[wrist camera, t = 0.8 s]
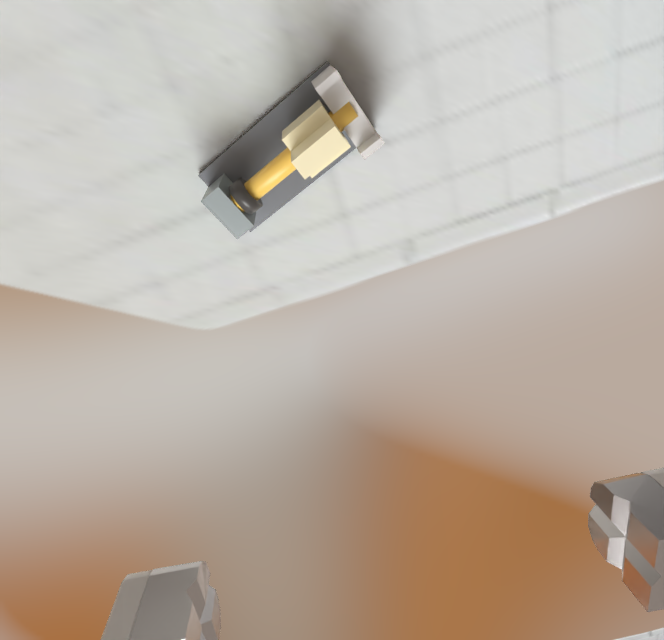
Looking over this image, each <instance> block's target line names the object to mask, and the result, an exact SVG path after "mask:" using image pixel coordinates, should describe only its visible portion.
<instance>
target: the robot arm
mask: <svg viewBox="0 0 664 640" xmlns="http://www.w3.org/2000/svg"><path fill="white" fill-rule="evenodd" d="M590 497H591V499H592V500H593V501H594V502H595V503H596V505H595V506H594V507H593V509H592V510H591V511H590V513H589V520H588V527H589V530H590V533H591V537H592V540H593V542H594V544H595V545H596V547H597V549H598V551H599V552H600V553H601V555H602V556H603V557H604V558H605V560H606V561H607V562H609V563H611V564H613V565H615V566H617V567H618V568H620V569H622V580H623V582H624V584H625V585H626V586H627V587H628V588H629V590H630V591H631V592H632V593H633V595H634V596H635V597H636V598H637V600H638V601H639V602H640V603H641V604H642V606H643V607H644V608H645V610H646V611H647V612H651V611H656V610H662V609H664V468H660V469H655V470H650V471H645V472H641V473H635V474H631V475H626V476H621V477H616V478H612V479H607V480H602V481H597V482H594V484H593V485H592V487H591V493H590ZM209 579H210V572H209V569H208V566H207V564H206V562H204V561H199V562H193V563H188V564H182V565H176V566H170V567H164V568H159V569H154V570H150V571H144V572H138V573H133V574H128V575H127V576H126V578H125V579H124V580H123V582H122V583H121V586H120V589H119V591H118V594H117V597H116V600H115V603H114V605H113V608H112V610H111V613H110V616H109V619H108V621H107V624H106V627H105V630H104V632H103V635H102V638H101V640H219V638H220V629H221V623H220V622H221V619H220V605H219V599H218V596H217V593H216V590H215V589H214V588H212V587H211V586H209Z"/></svg>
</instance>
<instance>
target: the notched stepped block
mask: <svg viewBox="0 0 664 640" xmlns="http://www.w3.org/2000/svg"><path fill="white" fill-rule="evenodd" d="M282 141H283V142H284V143H285V145H286V146H287V147H288V148H289V150H290V151H291V163H292V164H293V165H294V167H295V168H296V169H297V170H298V172H299V173H300V174H301V175H302V177H303V178H304V179H306V178H308V177H309V176H310V177H311V178H313V177H314V176H315V175H317V174H318V173H319V172H320V171H322V170H323V169H324V168H325V167H327V166H328V165H329V164H330V163H332V162H333V161H334V160H335V159H337V158H338V157H339V156H340V155H342V154H343V153H344V152H345V151H347V150H348V149H349V148H350V147H351V146H350V144H349V142H348V141H347V139H346V137H345V136H344V134H343V133H342V132H340V130H339V129H338V127H337V126H336V125H335V123H334V122H333V120H332V119H331V117H330V116H329V115H328V112H327V110H326V109H325V107H324V106H323V104H322V103H321V102H320V100H318V101H317V102H316V103H314V104H313V105H312V106H311V107H310V108H309V109H307V110H306V111H305V112H304V113H303V114H301V115H300V116H299V117H298V118H297V119H296V120H294V121H293V122H292V123H291V124H290V125H289V126H287V127H286V128H285V129H284V130H283V131H282Z"/></svg>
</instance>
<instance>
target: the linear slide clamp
mask: <svg viewBox="0 0 664 640" xmlns="http://www.w3.org/2000/svg"><path fill="white" fill-rule="evenodd" d="M341 78H342V77H341V75H340V74H339V72H338V71H337V70H336V69H335V68H334V67H332V66H331V65H330V64H329V62H328V61H327V62H326V63H325V64H324V65H323V66H321V67H320V68H319V69H318V70H317V71H316V72H315V73H313V74H312V75H311V76H310V77H309V78H308V79H307V80H306V81H304V82H303V83H302V84H301V85H300V86H299V87H298V88H296V89H295V90H294V91H293V92H292V93H291V94H290V95H288V96H287V97H286V98H285V99H284V100H283V101H282V102H280V103H279V104H278V105H277V106H276V107H275V108H274V109H273V110H271V111H270V112H269V113H268V114H267V115H266V116H265V117H263V118H262V119H261V120H260V121H259V122H258V123H257V124H255V125H254V126H253V127H252V128H251V129H250V130H249V131H247V132H246V133H245V134H244V135H243V136H242V137H241V138H240V139H238V140H237V141H236V142H235V143H234V144H233V145H232V146H230V147H229V148H228V149H227V150H226V151H225V152H224V153H222V154H221V155H220V156H219V157H218V158H217V159H216V160H214V161H213V162H212V163H211V164H210V165H209V166H208V167H206V168H205V169H204V170H203V171H202V172H201V173H200V174H199V175H198V176H199V177H200V178H201V179H202V180H203V181H204V182H205V183H206V184H207V186H208V189H207V191H206V193H205V195H204V197H203V199H202V201H201V202H202V203H203V204H204V205H205V206H206V207H207V208H208V209H209V210H210V211H211V212H212V214H213V215H214V216H215V217H216V218H217V219H218V220H219V221H220V222H221V223H222V224H223V225H224V226H225V227H226V228H227V229H228V230H229V231H230V232H231V233H232V234H233V235H234V237H235V238H236V239H238V238H240V237H241V236H242V235H243V234H245V233H246V232H247V231H248V230H249V231H250V232H251V231H252V230H254V229H255V228H256V227H257V226H259V225H260V224H261V223H262V222H264V221H265V220H266V219H267V218H269V217H270V216H271V215H272V214H274V213H275V212H276V211H277V210H279V209H280V208H281V207H282V206H284V205H285V204H286V203H287V202H289V201H290V200H291V199H292V198H294V197H295V196H296V195H297V194H299V193H300V192H301V191H302V190H304V189H305V188H306V187H307V186H309V185H310V184H311V183H312V182H314V181H315V180H316V179H317V178H319V177H320V176H321V175H323V174H324V173H325V172H326V171H328V170H329V169H330V168H331V167H333V166H334V165H335V164H336V163H338V162H339V161H340V160H341V159H343V158H344V157H345V156H346V155H348V154H349V153H350V152H351V151H353V150H354V149H355V148H357V149H358V151H359V152H360V154H361V155H362V157H363V158H364V160H365V159H366V158H368V157H369V156H370V155H371V154H373V153H374V152H375V151H376V150H378V149H379V148H380V147H382V146H383V145H384V144H385V142H384V141H383V139H382V138H381V137H380V135H379V134H378V133H377V132H376V130H375V129H374V127H373V126H372V124H371V123H370V121H369V120H368V118H367V117H366V115H365V114H364V112H363V111H362V109H361V108H360V106H359V105H358V103H357V102H356V100H355V99H354V97H353V96H352V94H351V93H350V91H349V90H348V88H347V86H346V85H345V83H344V82H343V80H342V79H341ZM318 100H320V102H321V103H322V104H323V106H324V107H325V109H326V110H327V112H328V115H329V116H330V117H331V119H332V120H333V122H334V123H335V125H336V126H337V127H338V129H339V130H340V132H342V133H343V134H344V136H345V137H346V139H347V141H348V142H349V144H350V146H351V147H350V148H349V149H348V150H347V151H345V152H344V153H343V154H342V155H340V156H339V157H338V158H337V159H335V160H334V161H333V162H332V163H330V164H329V165H328V166H327V167H325V168H324V169H323V170H322V171H320V172H319V173H318V174H317V175H315V176H314V177H313V178H311V177H310V176H309V177H308V178H306V179H304V178H303V177H302V175H301V174H300V173H299V172H298V170H297V169H296V168H295V167H294V165H293V164H292V163H291V151H290V150H289V148H288V147H287V146H286V145H285V143H284V142H283V141H282V131H283V130H284V129H285V128H286V127H287V126H289V125H290V124H291V123H292V122H293V121H294V120H296V119H297V118H298V117H299V116H300V115H301V114H303V113H304V112H305V111H306V110H307V109H309V108H310V107H311V106H312V105H313V104H314V103H316V102H317V101H318Z"/></svg>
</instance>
